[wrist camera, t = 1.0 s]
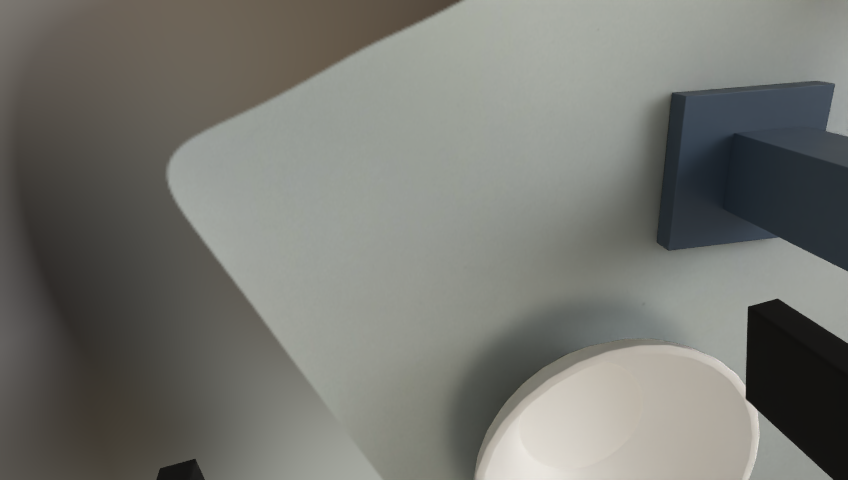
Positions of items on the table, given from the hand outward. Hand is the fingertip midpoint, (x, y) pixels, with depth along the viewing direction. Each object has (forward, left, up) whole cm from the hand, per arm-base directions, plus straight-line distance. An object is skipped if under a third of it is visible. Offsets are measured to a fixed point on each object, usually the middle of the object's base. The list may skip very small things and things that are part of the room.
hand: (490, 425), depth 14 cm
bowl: (+18, -16, -24) cm, 33 cm away
